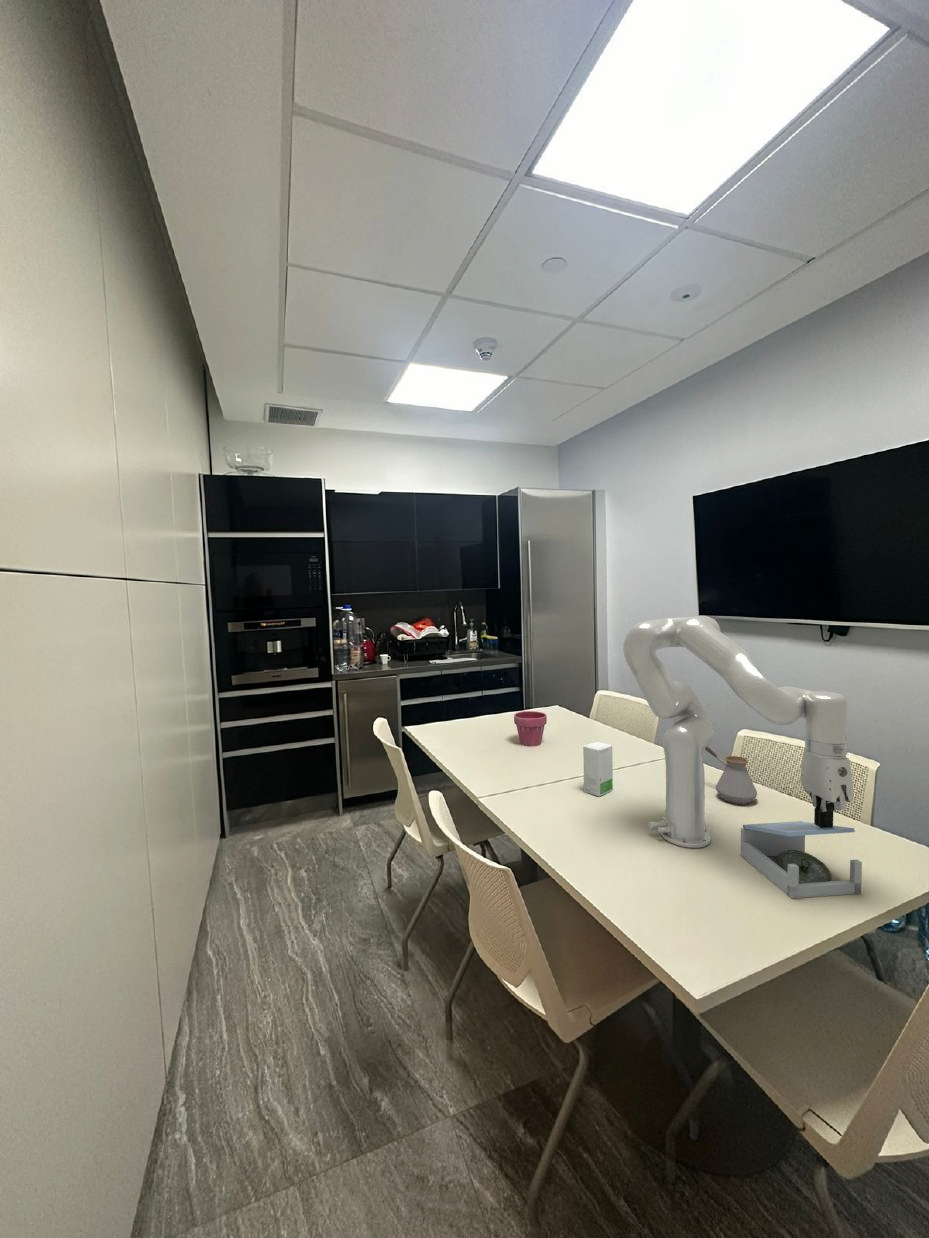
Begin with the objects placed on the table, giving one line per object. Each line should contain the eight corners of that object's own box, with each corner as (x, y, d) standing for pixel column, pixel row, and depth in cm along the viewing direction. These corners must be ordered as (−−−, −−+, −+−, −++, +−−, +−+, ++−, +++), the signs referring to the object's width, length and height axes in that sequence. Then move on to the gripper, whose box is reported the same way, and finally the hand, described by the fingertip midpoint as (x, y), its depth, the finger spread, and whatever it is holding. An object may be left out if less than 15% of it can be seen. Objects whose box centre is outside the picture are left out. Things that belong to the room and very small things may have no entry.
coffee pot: (765, 802, 152) (766, 755, 151) (739, 810, 147) (740, 761, 146) (707, 778, 171) (708, 736, 170) (683, 784, 167) (683, 741, 166)
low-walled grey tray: (791, 898, 106) (791, 867, 105) (740, 854, 123) (740, 827, 123) (861, 893, 107) (861, 862, 106) (801, 850, 124) (801, 824, 124)
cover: (789, 836, 106) (788, 831, 107) (743, 828, 122) (742, 824, 123) (855, 832, 107) (853, 827, 108) (801, 824, 123) (800, 820, 124)
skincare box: (599, 797, 159) (598, 750, 158) (582, 791, 164) (581, 745, 163) (613, 790, 164) (613, 744, 163) (597, 784, 169) (596, 740, 168)
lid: (816, 867, 117) (816, 846, 117) (842, 892, 107) (842, 870, 107) (768, 864, 119) (769, 844, 118) (790, 889, 109) (790, 867, 109)
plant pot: (530, 736, 226) (529, 708, 225) (553, 743, 215) (553, 714, 214) (507, 743, 217) (507, 714, 216) (531, 750, 206) (530, 720, 205)
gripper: (870, 757, 103) (868, 841, 104) (815, 736, 118) (813, 810, 119) (836, 759, 103) (835, 843, 104) (785, 737, 118) (784, 812, 119)
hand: (823, 825), depth 112 cm, fingers closed
